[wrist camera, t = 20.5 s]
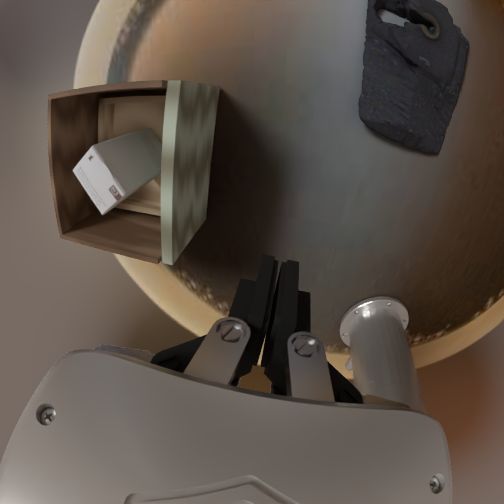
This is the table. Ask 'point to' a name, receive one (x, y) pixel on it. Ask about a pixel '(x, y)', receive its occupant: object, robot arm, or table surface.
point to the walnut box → (71, 190)
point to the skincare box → (119, 167)
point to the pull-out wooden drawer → (170, 155)
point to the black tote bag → (412, 72)
